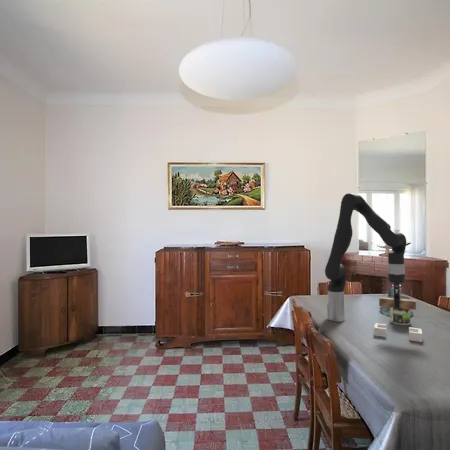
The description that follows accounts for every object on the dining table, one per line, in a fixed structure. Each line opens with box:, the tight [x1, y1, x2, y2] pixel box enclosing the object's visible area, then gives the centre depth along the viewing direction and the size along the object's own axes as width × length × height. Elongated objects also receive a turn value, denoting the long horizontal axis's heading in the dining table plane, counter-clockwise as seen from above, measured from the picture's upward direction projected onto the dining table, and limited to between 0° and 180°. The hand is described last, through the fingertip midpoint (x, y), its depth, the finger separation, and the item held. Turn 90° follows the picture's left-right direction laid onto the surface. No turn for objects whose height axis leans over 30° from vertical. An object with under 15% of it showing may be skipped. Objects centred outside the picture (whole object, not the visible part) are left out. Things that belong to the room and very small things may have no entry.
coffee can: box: [389, 295, 411, 326], centre depth 180 cm, size 10×10×14 cm
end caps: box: [373, 322, 423, 343], centre depth 159 cm, size 21×8×4 cm, turn 61°
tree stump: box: [379, 287, 414, 318], centre depth 200 cm, size 18×20×18 cm
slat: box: [378, 296, 417, 311], centre depth 159 cm, size 16×4×4 cm, turn 61°
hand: (397, 306), depth 159 cm, fingers closed on slat, 3 cm apart
